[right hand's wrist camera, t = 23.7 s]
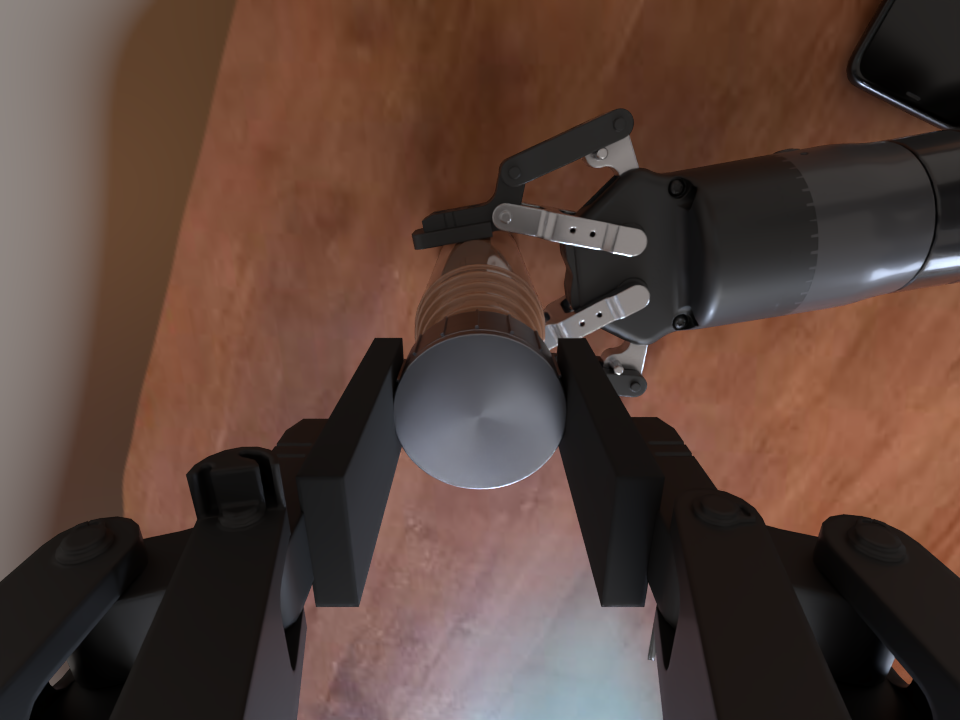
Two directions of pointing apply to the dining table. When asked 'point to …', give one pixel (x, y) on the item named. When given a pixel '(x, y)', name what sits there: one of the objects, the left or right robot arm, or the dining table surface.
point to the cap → (479, 401)
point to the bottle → (480, 284)
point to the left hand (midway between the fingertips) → (428, 295)
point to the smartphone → (912, 59)
